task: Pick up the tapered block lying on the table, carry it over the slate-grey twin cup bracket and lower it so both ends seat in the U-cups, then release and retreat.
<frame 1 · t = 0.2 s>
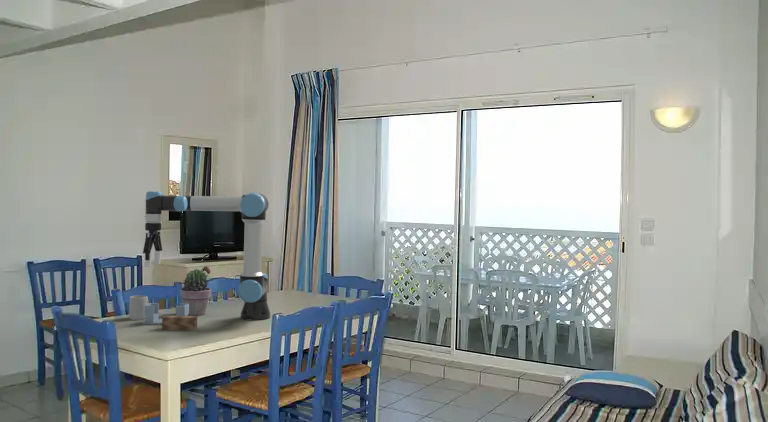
hand: (152, 265, 307), 28 cm above the table, fingers open, 13 cm apart
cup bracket: (166, 322, 304), on the table
tapered block: (179, 329, 291), on the table
potted plant: (194, 314, 327), on the table
mug: (140, 318, 315), on the table
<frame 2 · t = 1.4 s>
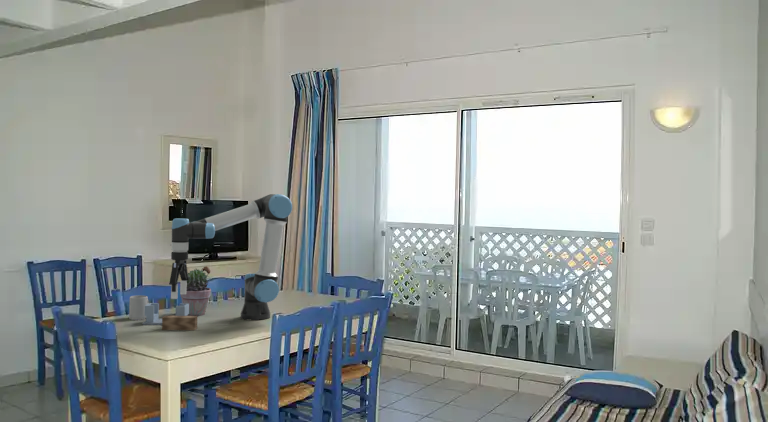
hand: (178, 296, 292), 15 cm above the table, fingers open, 13 cm apart
nothing on the table moved.
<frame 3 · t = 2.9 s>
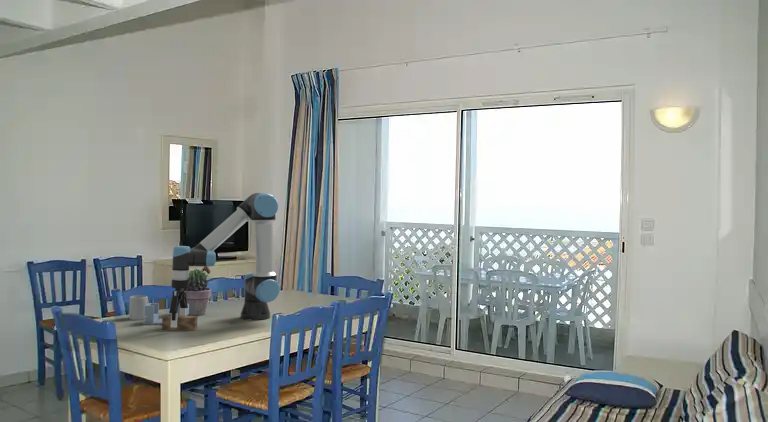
hand: (178, 324, 290), 2 cm above the table, fingers open, 13 cm apart
nothing on the table moved.
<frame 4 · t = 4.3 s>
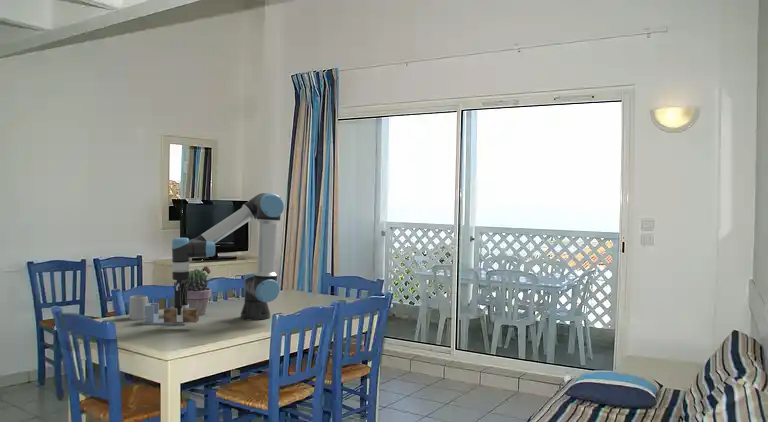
hand: (181, 320, 291), 4 cm above the table, fingers closed on tapered block, 4 cm apart
tapered block: (181, 321, 291), point 3 cm above the table, touching gripper
everything else where it was.
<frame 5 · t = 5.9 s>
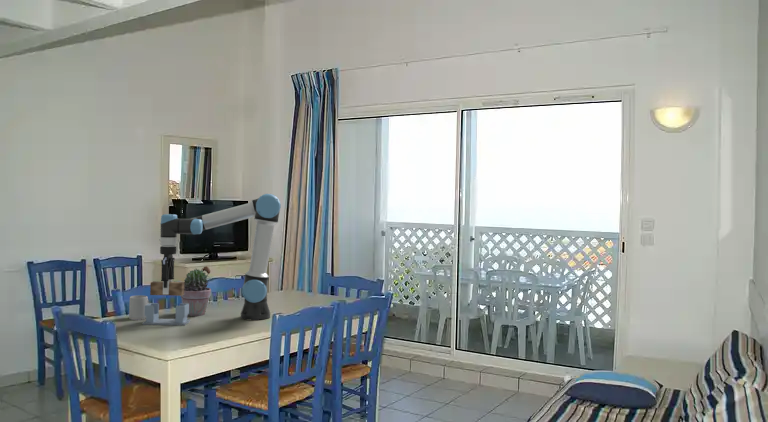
hand: (167, 293, 303), 14 cm above the table, fingers closed on tapered block, 4 cm apart
tapered block: (167, 294, 303), point 14 cm above the table, touching gripper
everything else where it was.
when the fingers open (6 cm above the table, at t = 7.7 s): tapered block drops 1 cm, resting on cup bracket.
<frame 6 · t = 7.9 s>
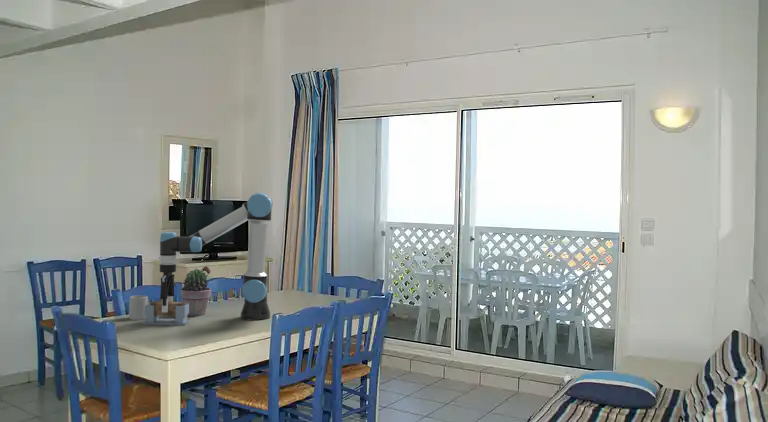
hand: (167, 310, 304), 6 cm above the table, fingers open, 7 cm apart
tapered block: (167, 314, 304), point 4 cm above the table, touching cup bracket
everything else where it was.
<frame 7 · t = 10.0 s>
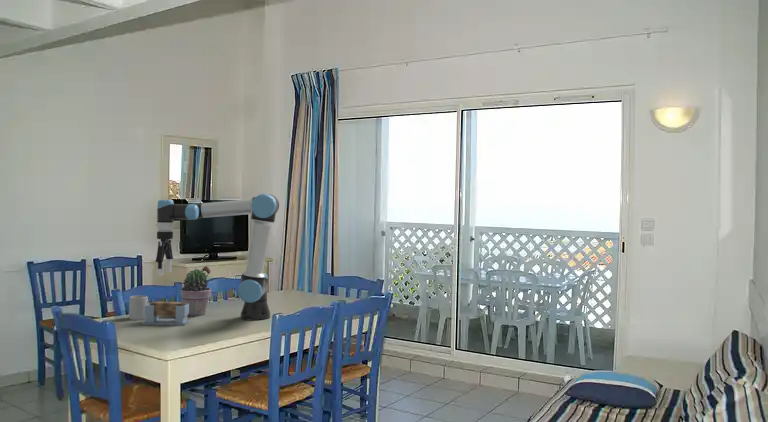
hand: (164, 273, 308), 23 cm above the table, fingers open, 13 cm apart
nothing on the table moved.
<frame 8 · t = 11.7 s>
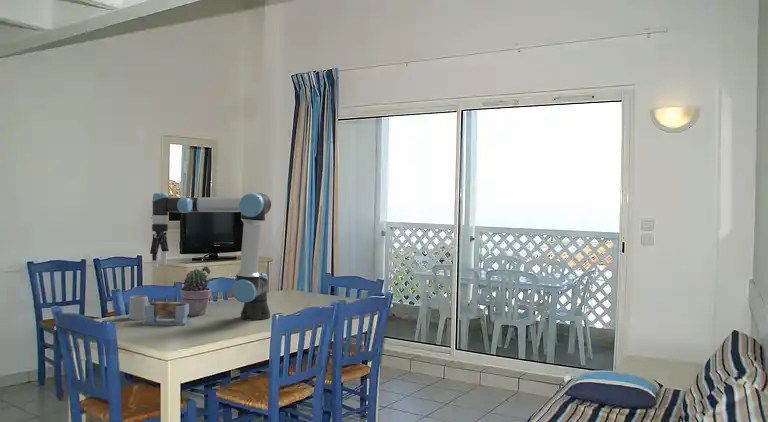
hand: (159, 265, 315), 27 cm above the table, fingers open, 13 cm apart
nothing on the table moved.
at the end: tapered block 0.0 cm off-centre on the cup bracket, point 4.0 cm above the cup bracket's base; tapered block tilted 0°; the gripper is holding nothing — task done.
